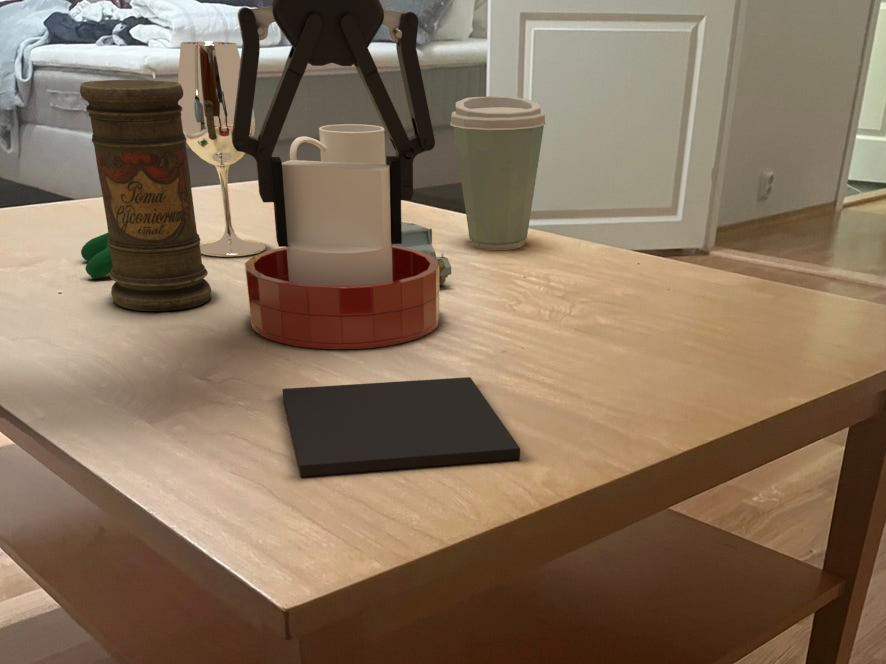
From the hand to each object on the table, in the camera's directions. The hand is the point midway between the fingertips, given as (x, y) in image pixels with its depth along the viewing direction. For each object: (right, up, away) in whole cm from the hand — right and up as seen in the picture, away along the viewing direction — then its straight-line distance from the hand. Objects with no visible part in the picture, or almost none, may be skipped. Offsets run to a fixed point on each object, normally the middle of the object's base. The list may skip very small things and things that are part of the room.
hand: (339, 241), depth 86 cm
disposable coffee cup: (+14, +11, +31) cm, 36 cm away
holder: (+6, -19, -17) cm, 27 cm away
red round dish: (0, -6, +4) cm, 7 cm away
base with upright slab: (0, -5, +3) cm, 6 cm away
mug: (-5, +18, +41) cm, 45 cm away
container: (-18, -2, +9) cm, 20 cm away
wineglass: (-16, +9, +26) cm, 32 cm away
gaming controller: (-26, +4, +18) cm, 32 cm away
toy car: (+6, +3, +17) cm, 18 cm away
